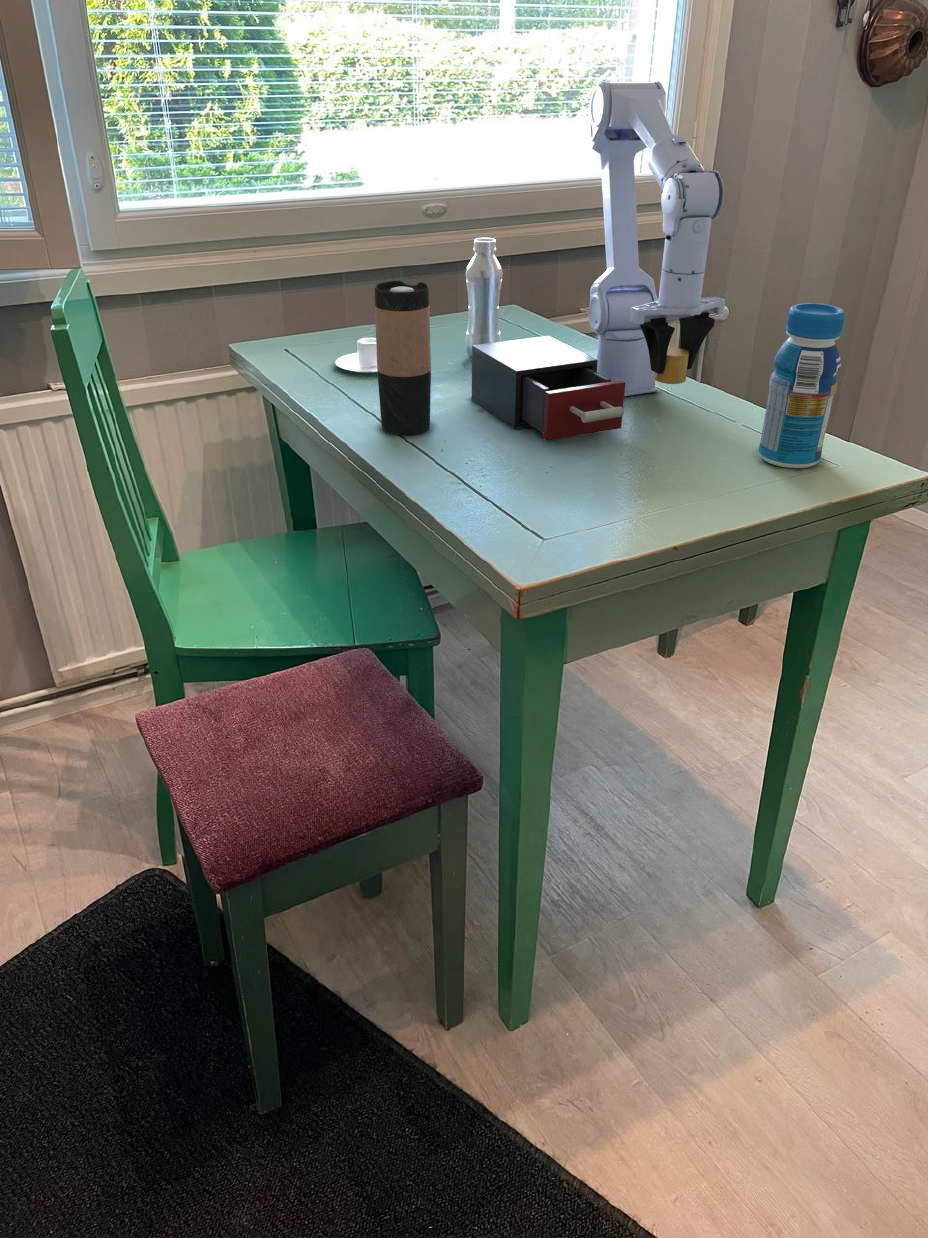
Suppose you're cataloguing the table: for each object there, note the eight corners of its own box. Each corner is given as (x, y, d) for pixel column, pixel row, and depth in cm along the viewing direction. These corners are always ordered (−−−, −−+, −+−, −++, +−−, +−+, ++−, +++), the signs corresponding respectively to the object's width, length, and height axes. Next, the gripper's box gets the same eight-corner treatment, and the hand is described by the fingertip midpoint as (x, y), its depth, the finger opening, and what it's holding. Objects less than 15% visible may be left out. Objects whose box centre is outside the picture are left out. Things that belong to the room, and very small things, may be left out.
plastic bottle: (507, 356, 169) (511, 238, 159) (488, 365, 164) (491, 244, 154) (477, 350, 172) (479, 234, 161) (457, 359, 167) (458, 240, 157)
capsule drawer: (639, 439, 132) (645, 391, 128) (563, 452, 127) (566, 404, 124) (572, 400, 146) (575, 357, 142) (502, 411, 141) (503, 366, 138)
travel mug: (392, 439, 133) (387, 294, 123) (371, 423, 139) (364, 283, 129) (440, 431, 136) (439, 288, 126) (418, 415, 142) (415, 277, 132)
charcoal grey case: (593, 415, 142) (598, 359, 138) (514, 429, 137) (516, 370, 133) (545, 388, 154) (548, 335, 149) (471, 399, 149) (471, 345, 144)
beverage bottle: (743, 455, 129) (768, 306, 118) (782, 442, 133) (810, 297, 123) (794, 475, 123) (826, 320, 113) (833, 461, 127) (867, 310, 117)
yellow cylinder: (673, 373, 137) (676, 345, 135) (691, 381, 134) (695, 353, 132) (648, 376, 135) (651, 349, 133) (666, 385, 132) (669, 357, 130)
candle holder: (401, 376, 159) (401, 350, 156) (331, 375, 159) (329, 350, 157) (407, 356, 169) (406, 332, 167) (340, 355, 169) (339, 331, 167)
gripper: (656, 280, 121) (644, 383, 128) (745, 271, 126) (729, 370, 133) (625, 270, 126) (616, 369, 133) (712, 261, 132) (698, 357, 139)
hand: (670, 369), depth 134 cm, fingers closed on yellow cylinder, 4 cm apart
